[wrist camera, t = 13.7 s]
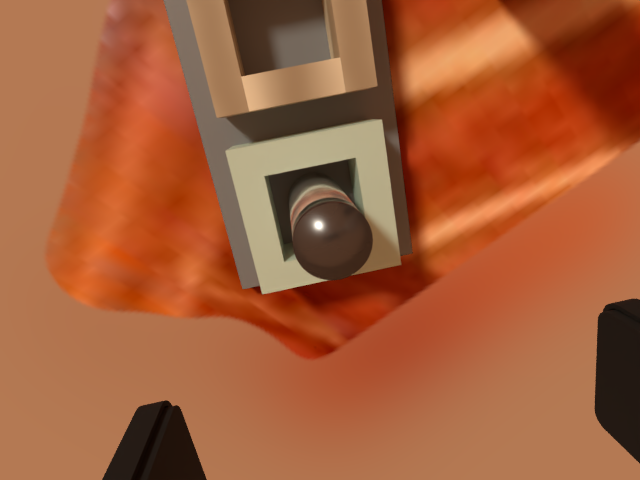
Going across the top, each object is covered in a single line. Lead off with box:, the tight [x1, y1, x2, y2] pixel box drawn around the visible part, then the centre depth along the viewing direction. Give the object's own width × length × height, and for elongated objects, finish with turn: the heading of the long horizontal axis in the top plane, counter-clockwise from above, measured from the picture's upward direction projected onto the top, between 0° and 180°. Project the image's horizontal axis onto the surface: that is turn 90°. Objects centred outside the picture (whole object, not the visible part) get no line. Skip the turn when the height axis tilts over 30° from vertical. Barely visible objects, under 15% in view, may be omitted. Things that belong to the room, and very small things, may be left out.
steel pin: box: [289, 173, 373, 280], centre depth 25 cm, size 4×4×11 cm
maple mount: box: [186, 0, 377, 118], centre depth 25 cm, size 10×10×4 cm
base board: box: [164, 0, 413, 289], centre depth 29 cm, size 14×24×2 cm, turn 11°
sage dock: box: [225, 119, 401, 294], centre depth 28 cm, size 10×10×4 cm
